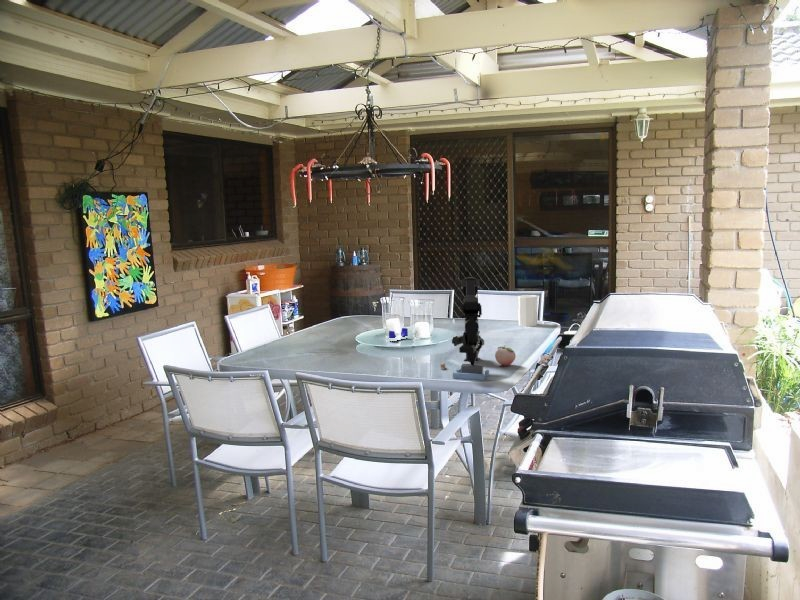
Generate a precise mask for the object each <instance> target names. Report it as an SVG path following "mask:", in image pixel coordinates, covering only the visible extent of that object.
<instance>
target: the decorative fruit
mask: <svg viewBox="0 0 800 600" xmlns="http://www.w3.org/2000/svg"><path fill="white" fill-rule="evenodd" d="M494 357H495V358H494V359H495V360H496V362H497V364H499V365H501V366H503V367H508V366H510V365H512V364H514V361H515V360H516V352H515V351H514V350H513V349H512V348H510V347H506V346H498V347H497V350H496V351H495V353H494Z"/></svg>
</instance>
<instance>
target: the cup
mask: <svg viewBox="0 0 800 600" xmlns="http://www.w3.org/2000/svg"><path fill="white" fill-rule="evenodd" d="M517 299H518V300H517V301H518V306H517V307H518V313H517V314H518V326H520V327H524V328H525V327H526V328H528V327H536V326H538V296H537V295H536V294H524V295H523V294H522V295H518V296H517Z"/></svg>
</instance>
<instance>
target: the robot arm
mask: <svg viewBox="0 0 800 600" xmlns="http://www.w3.org/2000/svg"><path fill="white" fill-rule="evenodd" d="M460 289H462V294H463V295H464V298H463V302H462V303H461V306H462V307H461V310H462V311H461V315H462V318H463V319H464V330H463V333H462V335H459V336H458V335H455V336H453V337H452V339H451V344H453V346H454V347H457V346H459V345H461V346H460V347H459V348H458V349H459V350H458V352H459V353H460V354H461V353H462V354H465V359H463V362H470V363H469V364H471V365H474V364H476V362H475V361H477V362H478V361H479V360H481V357H479V353H480V351H481V348H483V346H484V345H485V340H484V339H483V338H482V337H481V335H480V330H479V328H480V327H479V318H481V316H482V315H483V313H482V312H483V309H482V305H481V302H479V298H478V297H477V295H478V292H479V290H478V289H480V279H479V278H476V277H474V276H473V277H472V276H471V277H464V278H462V279H460Z"/></svg>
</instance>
